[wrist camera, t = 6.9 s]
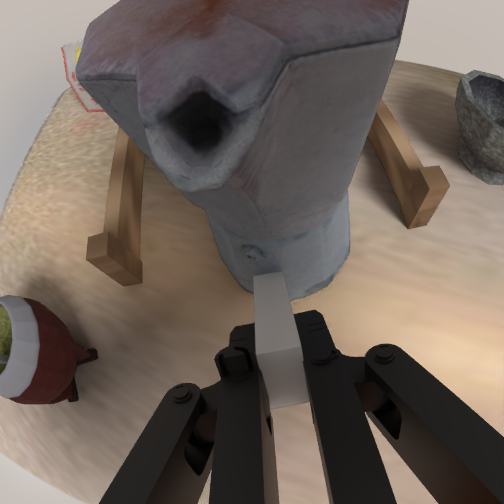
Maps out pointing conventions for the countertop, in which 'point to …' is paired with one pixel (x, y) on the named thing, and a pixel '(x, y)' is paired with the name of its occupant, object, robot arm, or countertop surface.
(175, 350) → the countertop surface
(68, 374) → the mate gourd
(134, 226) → the bay
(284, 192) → the moka pot
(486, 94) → the mortar and pestle
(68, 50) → the white paper packet
